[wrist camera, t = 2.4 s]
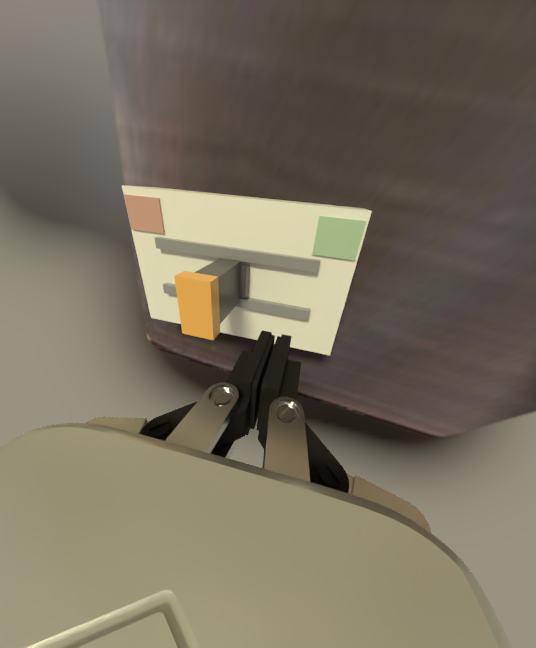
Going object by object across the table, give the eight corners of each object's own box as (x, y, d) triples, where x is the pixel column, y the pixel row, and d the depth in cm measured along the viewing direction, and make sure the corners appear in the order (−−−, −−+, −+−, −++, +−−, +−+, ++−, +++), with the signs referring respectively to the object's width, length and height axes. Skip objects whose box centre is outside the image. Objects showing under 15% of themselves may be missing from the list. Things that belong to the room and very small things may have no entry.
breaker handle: (250, 256, 20) (214, 282, 14) (248, 301, 23) (217, 341, 16) (218, 251, 21) (170, 275, 15) (219, 296, 23) (178, 332, 17)
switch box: (363, 208, 21) (373, 211, 16) (329, 331, 28) (329, 358, 23) (157, 187, 24) (116, 185, 20) (174, 301, 32) (147, 319, 27)
